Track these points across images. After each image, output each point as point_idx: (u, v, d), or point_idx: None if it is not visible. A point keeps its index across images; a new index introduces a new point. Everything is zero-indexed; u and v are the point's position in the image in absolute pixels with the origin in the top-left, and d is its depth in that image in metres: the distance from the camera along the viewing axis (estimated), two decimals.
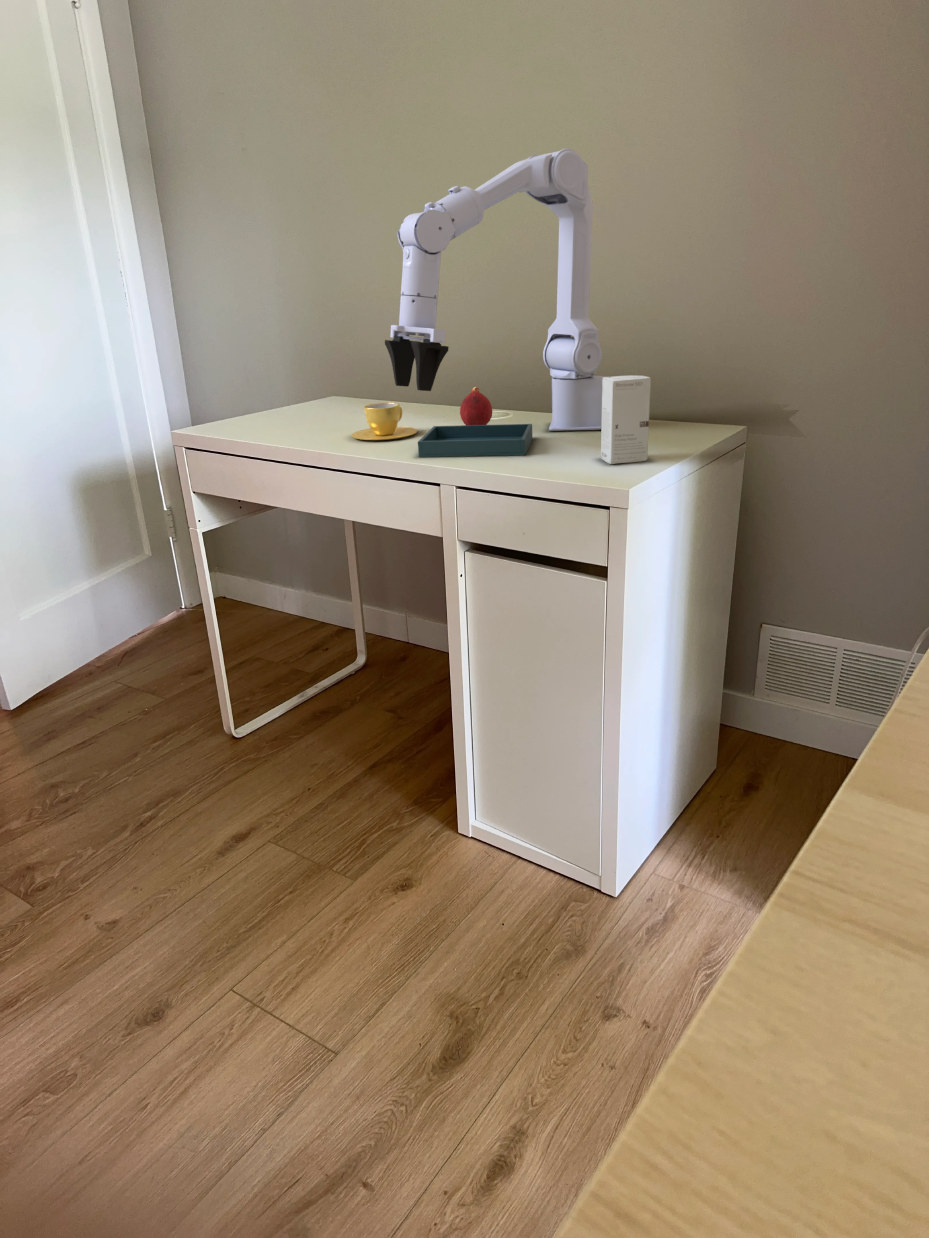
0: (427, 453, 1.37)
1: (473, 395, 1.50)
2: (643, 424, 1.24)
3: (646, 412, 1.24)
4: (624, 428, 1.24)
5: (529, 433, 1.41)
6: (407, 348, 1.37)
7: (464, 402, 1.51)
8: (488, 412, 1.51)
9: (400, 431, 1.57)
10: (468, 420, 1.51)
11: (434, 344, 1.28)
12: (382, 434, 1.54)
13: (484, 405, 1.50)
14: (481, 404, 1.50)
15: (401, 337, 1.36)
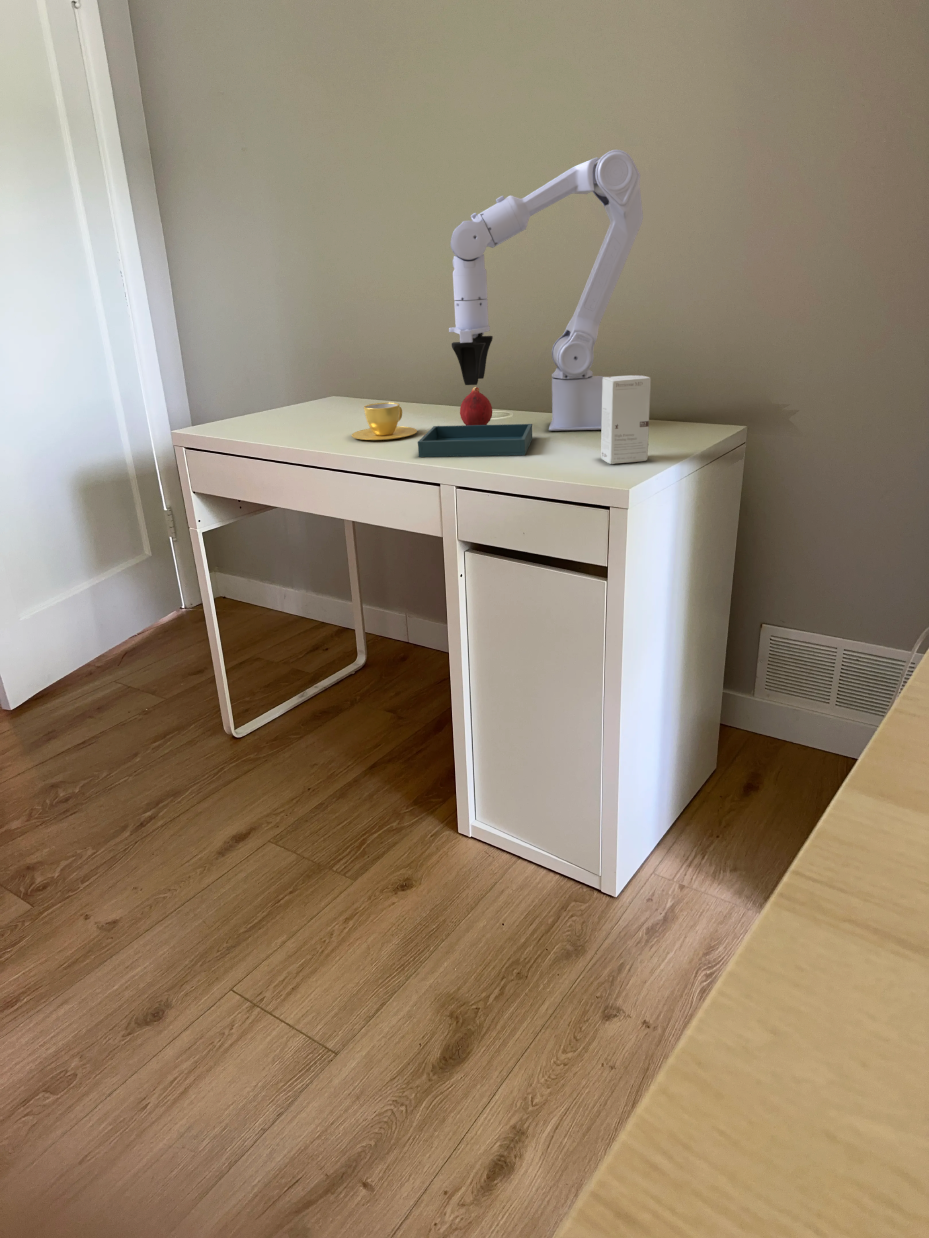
0: (427, 453, 1.37)
1: (473, 395, 1.50)
2: (643, 424, 1.24)
3: (646, 412, 1.24)
4: (624, 428, 1.24)
5: (529, 433, 1.41)
6: None
7: (464, 402, 1.51)
8: (488, 412, 1.51)
9: (400, 431, 1.57)
10: (468, 420, 1.51)
11: (466, 344, 1.42)
12: (382, 434, 1.54)
13: (484, 405, 1.50)
14: (481, 404, 1.50)
15: None
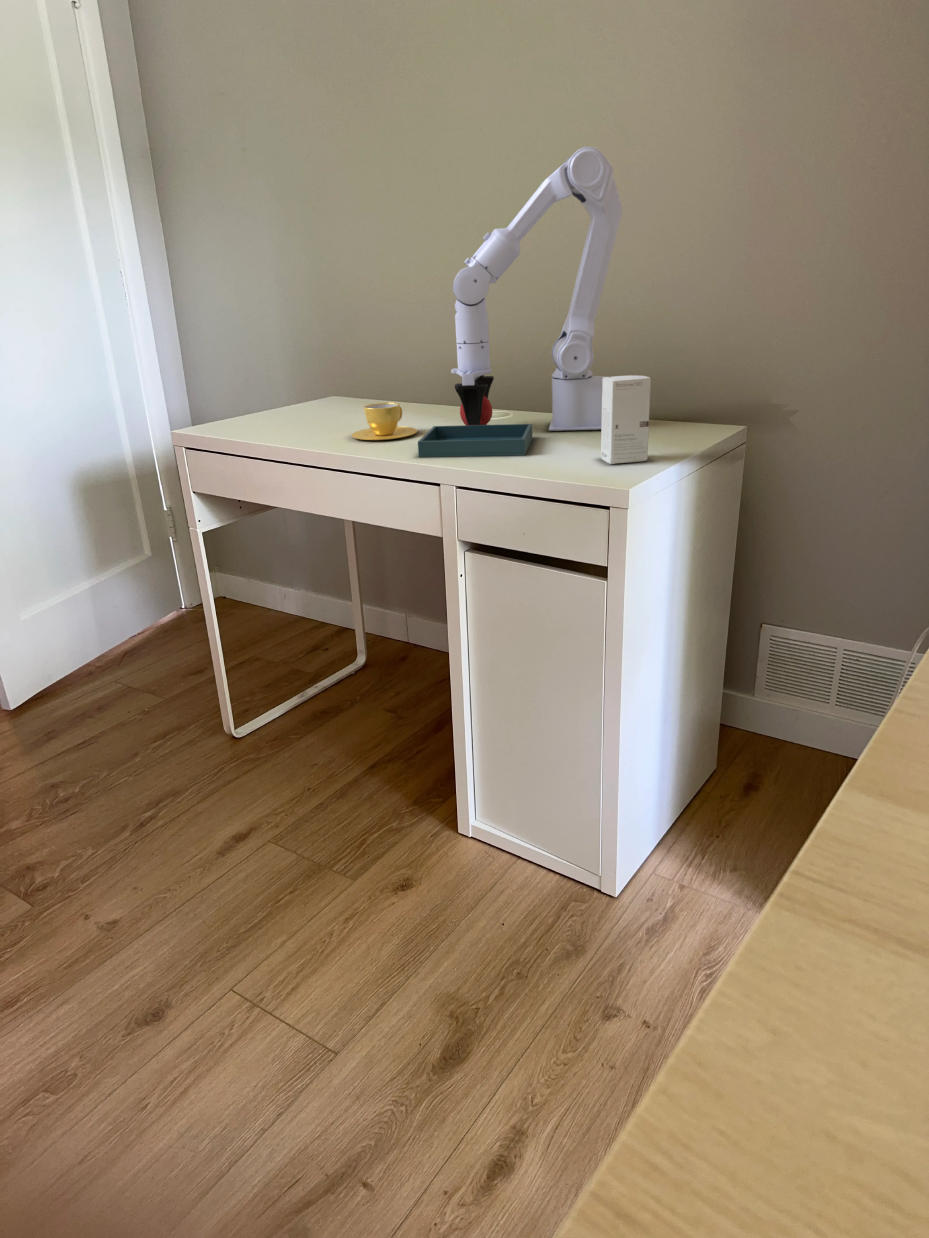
0: (427, 453, 1.37)
1: None
2: (643, 424, 1.24)
3: (646, 412, 1.24)
4: (624, 428, 1.24)
5: (529, 433, 1.41)
6: (480, 385, 1.53)
7: None
8: (488, 412, 1.51)
9: (400, 431, 1.57)
10: None
11: (469, 386, 1.45)
12: (382, 434, 1.54)
13: (483, 405, 1.50)
14: None
15: None
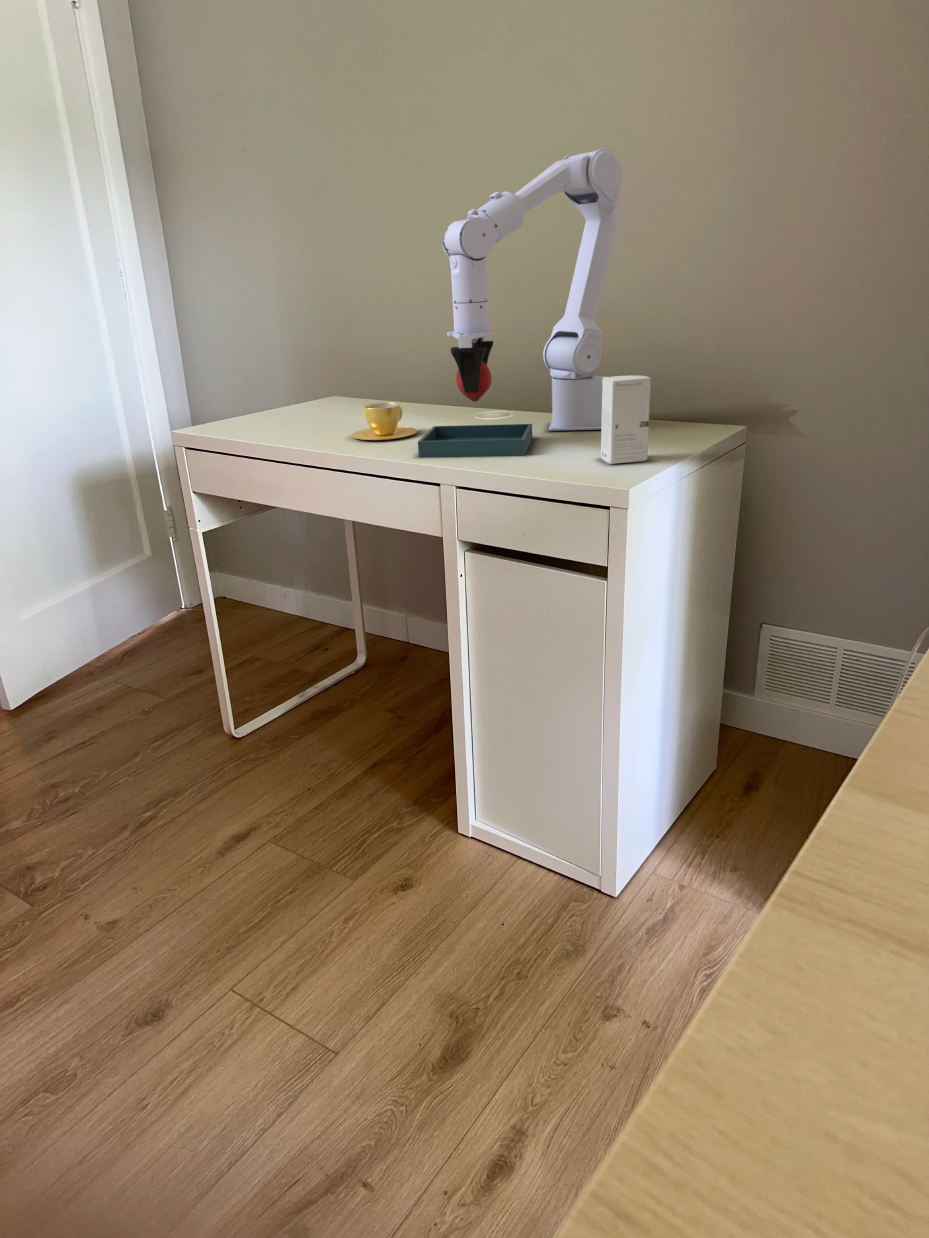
0: (427, 453, 1.37)
1: None
2: (643, 424, 1.24)
3: (646, 412, 1.24)
4: (624, 428, 1.24)
5: (529, 433, 1.41)
6: None
7: None
8: (487, 379, 1.39)
9: (400, 431, 1.57)
10: None
11: (466, 349, 1.33)
12: (382, 434, 1.54)
13: (482, 371, 1.38)
14: None
15: None
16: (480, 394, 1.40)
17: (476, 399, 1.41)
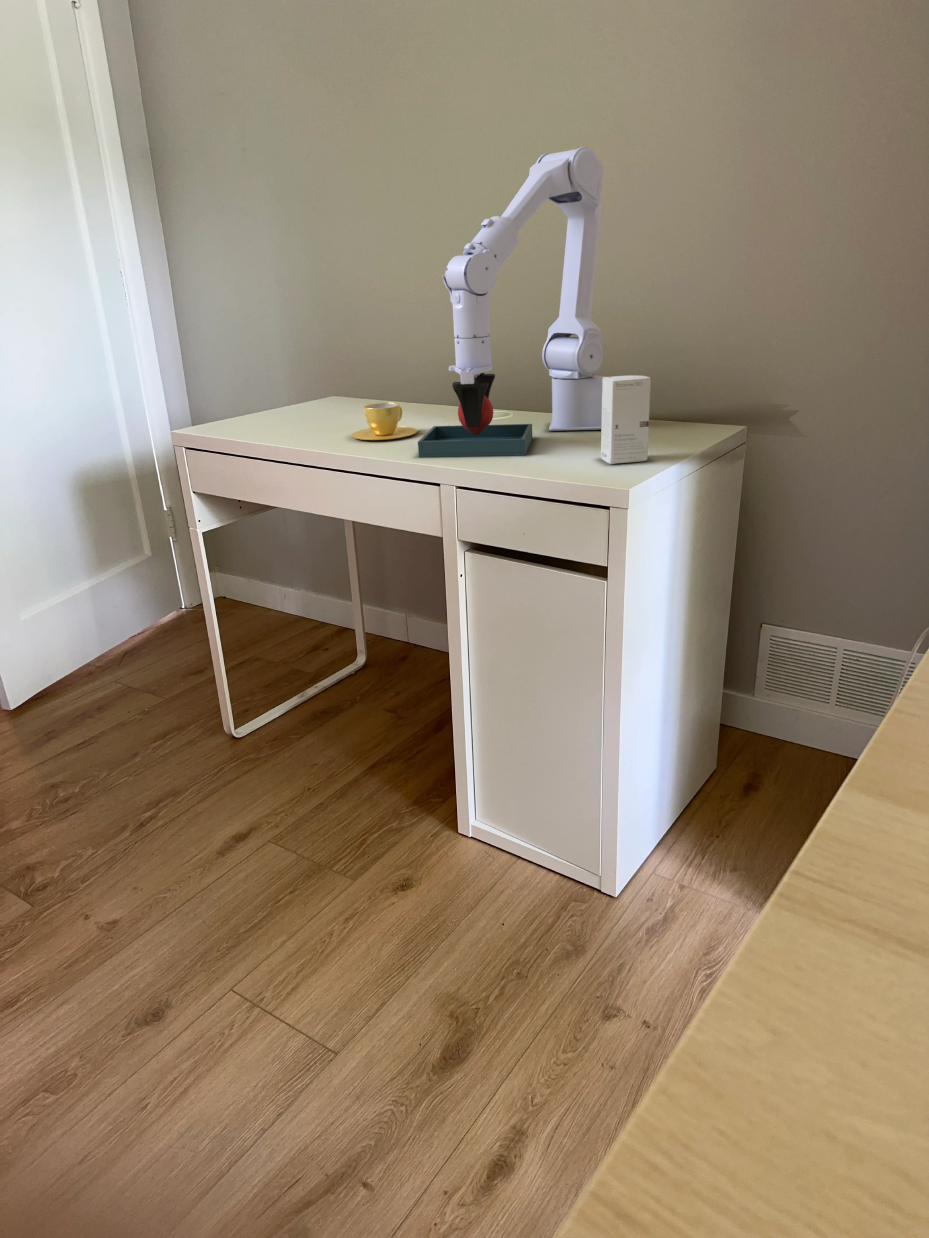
0: (427, 453, 1.37)
1: None
2: (643, 424, 1.24)
3: (646, 412, 1.24)
4: (624, 428, 1.24)
5: (529, 433, 1.41)
6: (480, 383, 1.41)
7: None
8: (489, 413, 1.38)
9: (400, 431, 1.57)
10: None
11: (468, 384, 1.32)
12: (382, 434, 1.54)
13: (484, 406, 1.37)
14: None
15: None
16: (482, 428, 1.39)
17: (478, 433, 1.40)
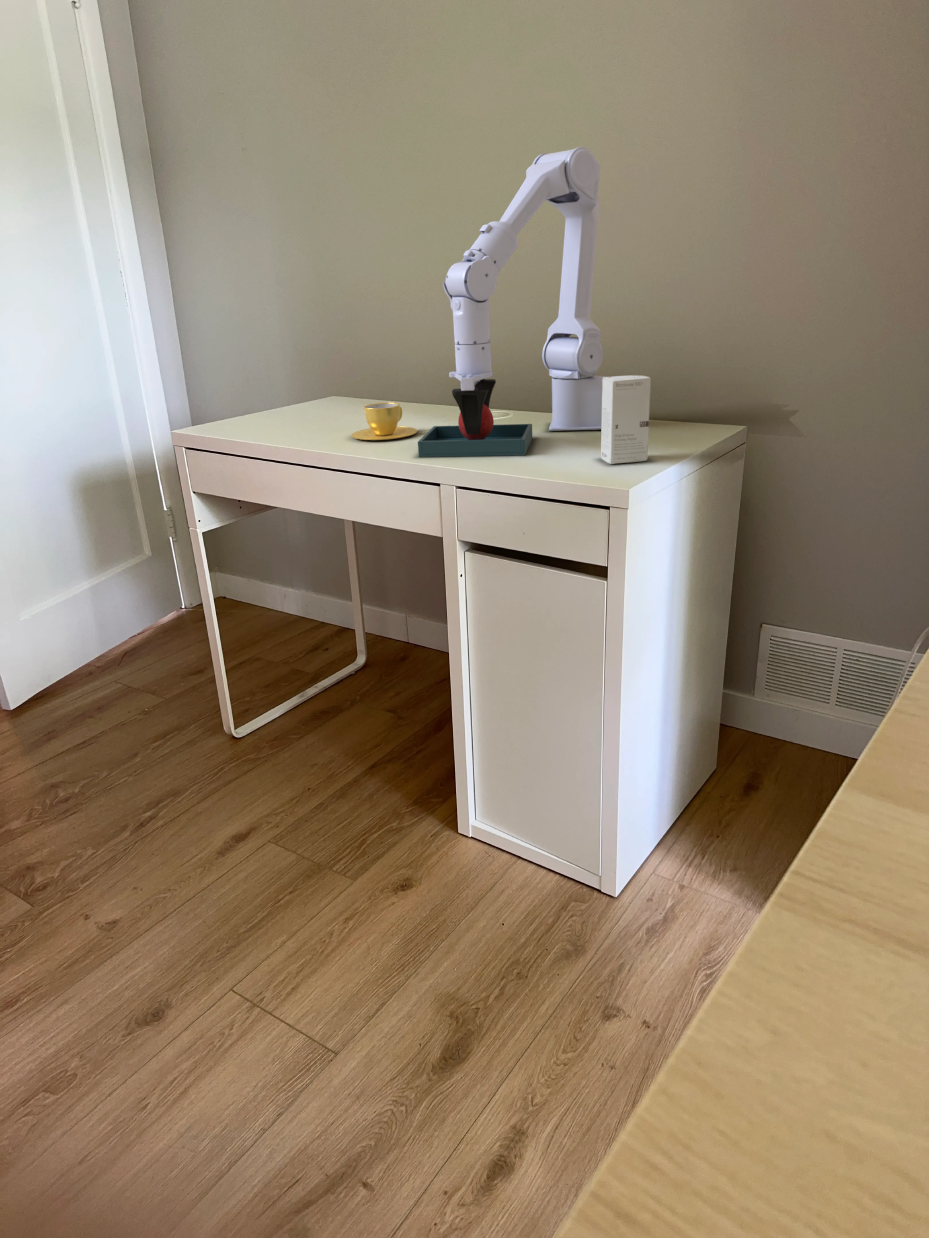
0: (427, 453, 1.37)
1: None
2: (643, 424, 1.24)
3: (646, 412, 1.24)
4: (624, 428, 1.24)
5: (529, 433, 1.41)
6: (481, 389, 1.42)
7: None
8: (489, 423, 1.38)
9: (400, 431, 1.57)
10: None
11: (468, 391, 1.32)
12: (382, 434, 1.54)
13: (484, 415, 1.38)
14: None
15: None
16: (482, 437, 1.40)
17: None
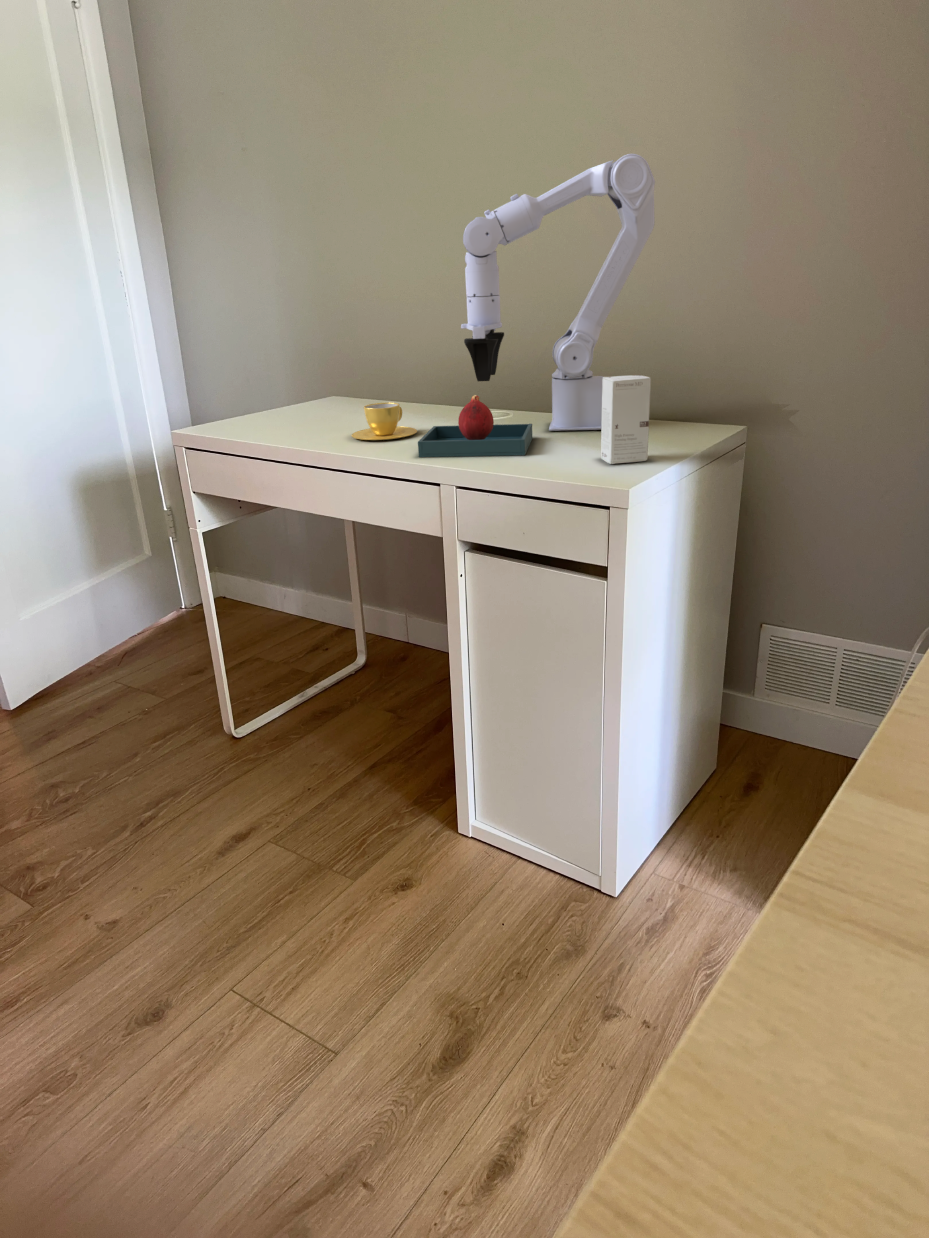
0: (427, 453, 1.37)
1: (472, 404, 1.38)
2: (643, 424, 1.24)
3: (646, 412, 1.24)
4: (624, 428, 1.24)
5: (529, 433, 1.41)
6: None
7: (463, 412, 1.38)
8: (489, 423, 1.38)
9: (400, 431, 1.57)
10: (467, 432, 1.38)
11: (479, 340, 1.42)
12: (382, 434, 1.54)
13: (484, 415, 1.38)
14: (481, 414, 1.37)
15: None
16: (482, 437, 1.40)
17: None
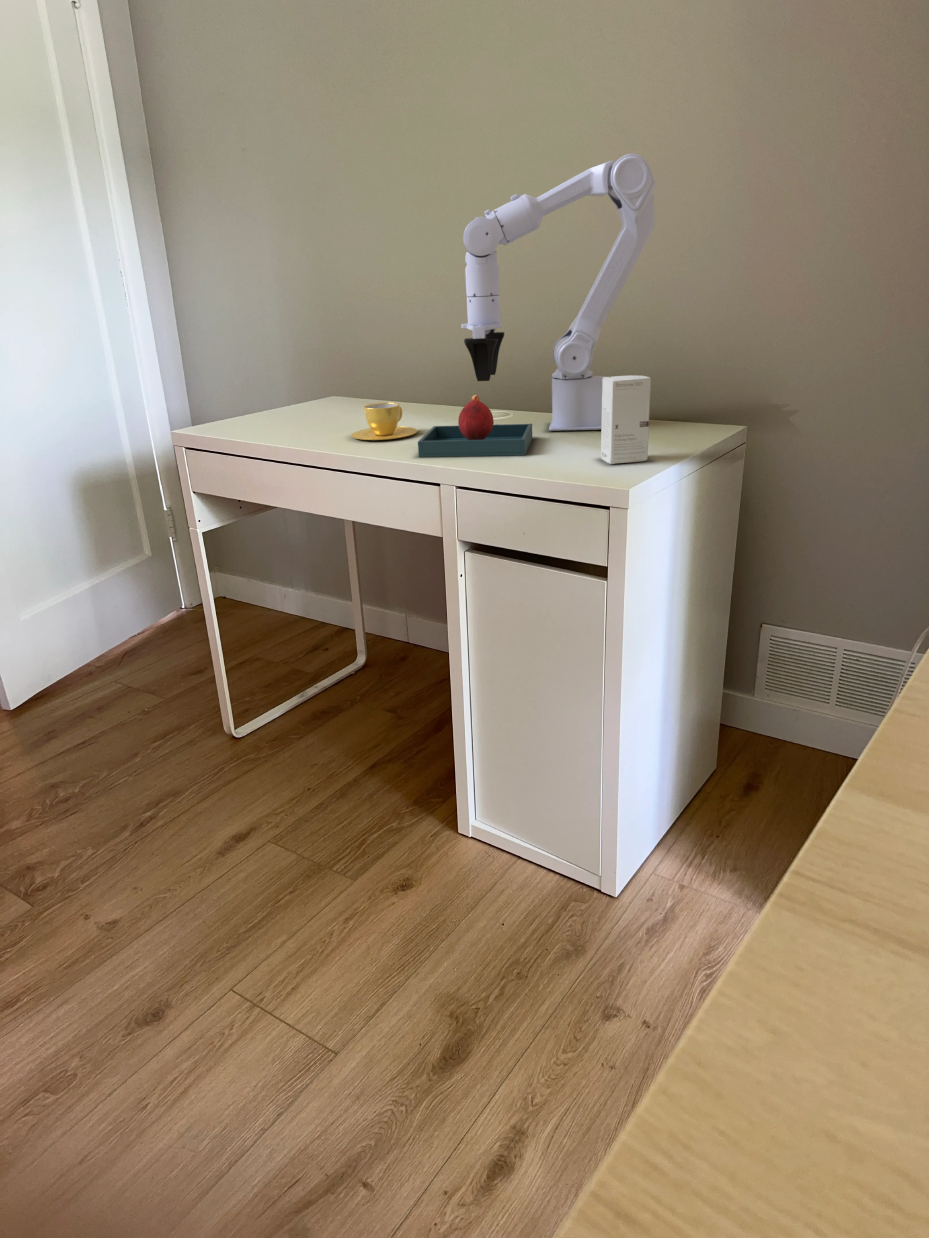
0: (427, 453, 1.37)
1: (472, 404, 1.38)
2: (643, 424, 1.24)
3: (646, 412, 1.24)
4: (624, 428, 1.24)
5: (529, 433, 1.41)
6: None
7: (463, 412, 1.38)
8: (489, 423, 1.38)
9: (400, 431, 1.57)
10: (467, 432, 1.38)
11: (479, 340, 1.42)
12: (382, 434, 1.54)
13: (484, 415, 1.38)
14: (481, 414, 1.37)
15: None
16: (482, 437, 1.40)
17: None
